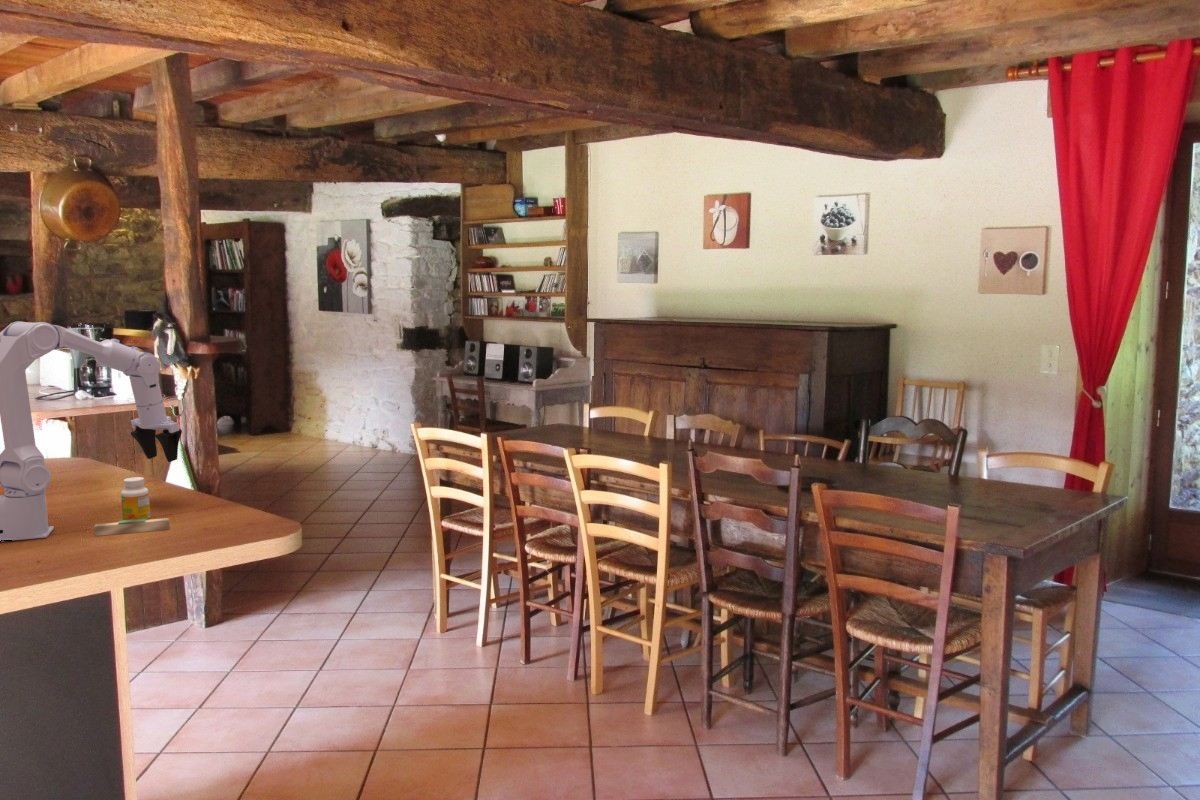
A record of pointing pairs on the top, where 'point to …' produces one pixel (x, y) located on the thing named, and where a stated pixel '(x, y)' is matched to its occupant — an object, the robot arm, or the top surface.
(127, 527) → the stop rail
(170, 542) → the top surface
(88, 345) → the robot arm
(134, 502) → the supplement bottle
